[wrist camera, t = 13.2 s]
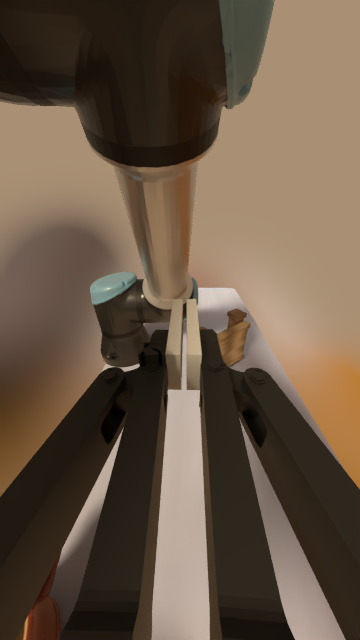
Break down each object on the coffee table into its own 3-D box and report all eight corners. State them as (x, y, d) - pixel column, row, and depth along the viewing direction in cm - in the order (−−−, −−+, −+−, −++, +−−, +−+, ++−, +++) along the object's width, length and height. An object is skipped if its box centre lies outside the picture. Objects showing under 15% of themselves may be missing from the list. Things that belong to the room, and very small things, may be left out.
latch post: (221, 356, 54) (227, 312, 46) (229, 352, 55) (236, 308, 47) (229, 362, 52) (237, 317, 44) (237, 358, 53) (246, 313, 45)
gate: (206, 380, 45) (209, 344, 39) (201, 375, 46) (203, 340, 40) (243, 357, 51) (250, 323, 45) (237, 353, 52) (244, 320, 47)
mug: (16, 812, 13) (-97, 942, 8) (-69, 748, 15) (-211, 821, 10) (105, 554, 23) (81, 535, 18) (48, 532, 25) (10, 510, 20)
